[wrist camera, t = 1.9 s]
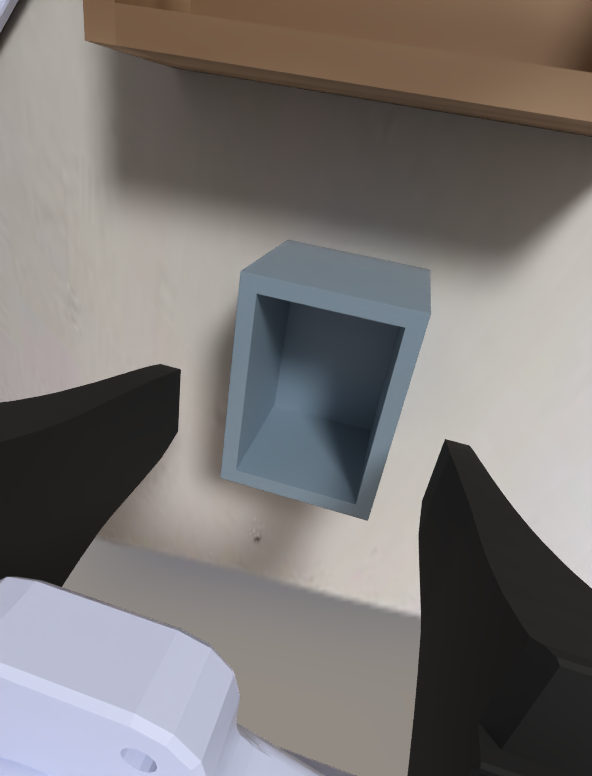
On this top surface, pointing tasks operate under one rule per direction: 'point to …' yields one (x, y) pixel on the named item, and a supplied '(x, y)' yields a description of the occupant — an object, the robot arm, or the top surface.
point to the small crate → (321, 372)
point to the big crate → (378, 50)
